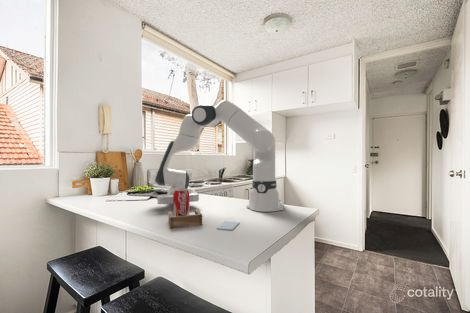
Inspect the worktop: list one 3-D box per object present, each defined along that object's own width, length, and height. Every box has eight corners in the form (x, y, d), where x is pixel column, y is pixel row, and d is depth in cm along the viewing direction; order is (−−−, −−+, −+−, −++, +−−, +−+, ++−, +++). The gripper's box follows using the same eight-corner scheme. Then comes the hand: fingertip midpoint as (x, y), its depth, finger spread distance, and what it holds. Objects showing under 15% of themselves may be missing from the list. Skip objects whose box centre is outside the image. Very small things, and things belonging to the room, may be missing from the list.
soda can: (174, 219, 96) (174, 190, 96) (172, 215, 102) (172, 188, 102) (191, 217, 98) (190, 189, 98) (188, 213, 105) (187, 187, 105)
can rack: (168, 221, 92) (168, 212, 92) (197, 218, 96) (197, 209, 96) (170, 228, 83) (170, 217, 83) (202, 224, 87) (202, 214, 87)
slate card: (225, 223, 90) (225, 221, 90) (239, 224, 89) (239, 222, 89) (216, 230, 82) (216, 228, 82) (232, 232, 80) (232, 229, 80)
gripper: (156, 191, 116) (156, 196, 103) (195, 189, 123) (200, 193, 110) (156, 203, 116) (156, 209, 103) (196, 200, 123) (201, 205, 110)
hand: (180, 201), depth 107 cm, fingers closed
